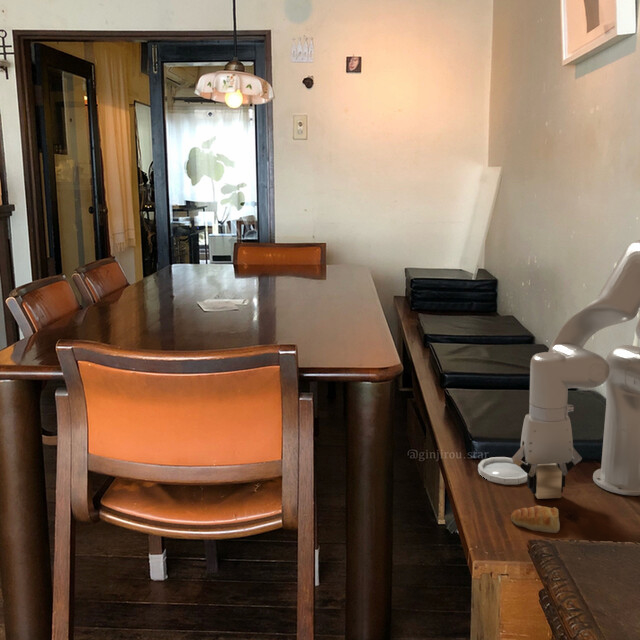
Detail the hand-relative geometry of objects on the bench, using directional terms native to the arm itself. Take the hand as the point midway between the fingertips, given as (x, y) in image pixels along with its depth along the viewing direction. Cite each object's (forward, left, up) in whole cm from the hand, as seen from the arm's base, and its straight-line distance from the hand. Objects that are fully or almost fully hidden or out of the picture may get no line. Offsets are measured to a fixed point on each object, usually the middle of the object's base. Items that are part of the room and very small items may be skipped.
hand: (545, 489), depth 150 cm
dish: (+6, -12, -2) cm, 13 cm away
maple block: (0, 0, -1) cm, 1 cm away
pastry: (+5, +12, -2) cm, 13 cm away
